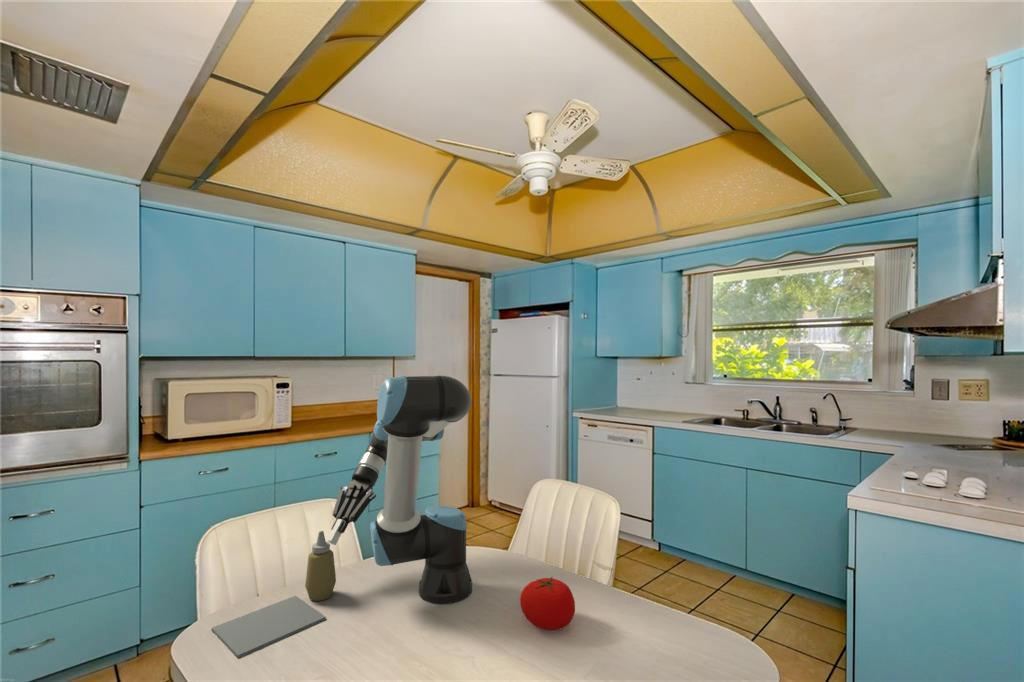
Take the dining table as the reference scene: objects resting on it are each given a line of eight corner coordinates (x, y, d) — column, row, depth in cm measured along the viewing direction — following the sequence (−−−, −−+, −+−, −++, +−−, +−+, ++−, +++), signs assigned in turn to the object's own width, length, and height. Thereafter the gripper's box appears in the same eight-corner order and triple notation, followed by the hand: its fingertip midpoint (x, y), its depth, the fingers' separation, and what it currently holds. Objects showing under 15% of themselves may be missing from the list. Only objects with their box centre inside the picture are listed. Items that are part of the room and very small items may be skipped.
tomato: (586, 623, 125) (586, 582, 125) (554, 646, 116) (554, 601, 116) (542, 603, 135) (542, 565, 135) (510, 622, 126) (510, 581, 126)
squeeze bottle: (342, 591, 141) (342, 528, 141) (322, 605, 134) (323, 538, 134) (319, 587, 144) (319, 525, 144) (298, 600, 136) (298, 535, 136)
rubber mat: (325, 619, 127) (325, 616, 127) (237, 658, 111) (237, 655, 111) (295, 597, 138) (295, 595, 138) (211, 630, 122) (211, 627, 122)
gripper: (390, 479, 159) (355, 551, 143) (356, 475, 163) (320, 545, 148) (380, 466, 154) (343, 540, 138) (346, 462, 159) (306, 533, 143)
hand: (331, 542), depth 143 cm, fingers closed
